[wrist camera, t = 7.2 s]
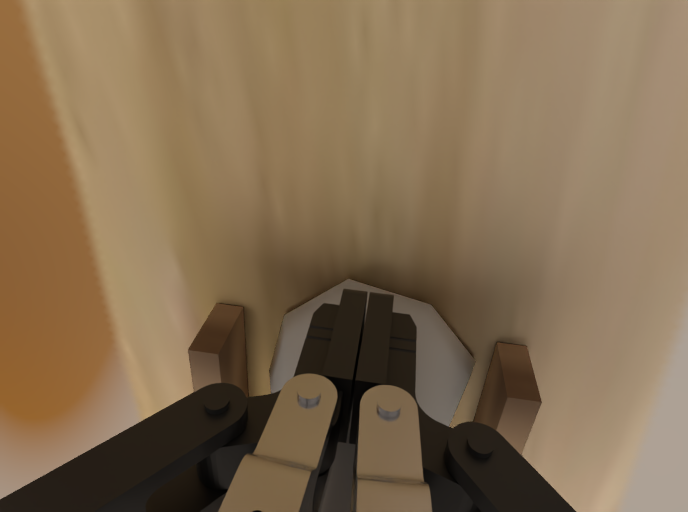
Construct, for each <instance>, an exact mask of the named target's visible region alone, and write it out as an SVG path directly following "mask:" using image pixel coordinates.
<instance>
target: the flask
mask: <svg viewBox="0 0 688 512" xmlns="http://www.w3.org/2000/svg"><path fill="white" fill-rule="evenodd" d="M343 289H352V290H359V291H367V292H368V295H367V305H366V312H367V306H368V300H369V294H370V292H375V293H383V294H390V295H394V301H393V312H396V313H403V314H410V316H411V317H412V319H413V321H414V323H415V325H416V326H417V340H416V387H415V394H416V399H417V402H418V404H419V406H420V407H421V409H422V410H423V411H424V412H425V413H426V414H427V415H428V416H429V417H431V418H432V419H434V420H436V421H438V422H440V423H442V424H444V425H446V426H449V425H450V423H451V420H452V418H453V416H454V413H455V411H456V409H457V406H458V404H459V402H460V399H461V397H462V395H463V392H464V390H465V388H466V385H467V383H468V380H469V378H470V375H471V373H472V370H473V367H474V365H475V362H476V361H475V360H474V358H473V357H472V356H471V355H470V353H469V352H468V351H467V349H466V348H465V347H464V346H463V344H462V343H461V342H460V341H459V339H458V338H457V337H456V335H455V334H454V333H453V332H452V330H451V329H450V328H449V327H448V325H447V324H446V323H445V322H444V320H443V319H442V318H441V316H440V315H439V314H438V313H437V311H436V310H435V309H434V308H433V306H432V305H430V304H427V303H424V302H421V301H418V300H415V299H411V298H408V297H405V296H402V295H399V294H395V293H392V292H389V291H386V290H383V289H379V288H376V287H373V286H370V285H367V284H363V283H360V282H357V281H354V280H351V279H347V280H345V281H344V282H342V283H340V284H338V285H336V286H335V287H333V288H331V289H329V290H328V291H326V292H324V293H322V294H321V295H319V296H317V297H315V298H313V299H312V300H310V301H308V302H306V303H305V304H303V305H301V306H299V307H298V308H296V309H294V310H292V311H290V312H289V313H287V314H285V315H284V318H283V321H282V325H281V329H280V333H279V336H278V340H277V344H276V347H275V351H274V355H273V358H272V362H271V366H270V370H269V373H270V385H271V394H272V393H275V392H277V391H279V390H281V389H282V388H283V386H284V384H285V383H286V382H287V381H288V380H290V379H291V378H293V376H294V373H295V370H296V367H297V364H298V361H299V357H300V354H301V351H302V348H303V345H304V341H305V338H306V335H307V332H308V329H309V326H310V322H311V319H312V316H313V313H314V312H315V311H316V310H317V309H318V308H319V307H320V306H321V305H322V304H323V303H328V304H336V305H340V301H341V296H342V292H343ZM365 318H366V314H365ZM364 324H365V323H364ZM352 408H353V404H352ZM351 418H352V410H351V417H350V423H349V429H348V435H347V441H346V443H342V442H338V445H337V450H336V456H335V460H334V462H333V464H332V471H331V474H330V478H329V482H328V486H327V489H326V493H325V497H324V501H323V504H322V508H321V512H350V502H351V485H352V471H353V462H354V453H355V444H349V437H350V428H351Z"/></svg>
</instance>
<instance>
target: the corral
mask: <svg viewBox="0 0 688 512" xmlns="http://www.w3.org/2000/svg"><path fill="white" fill-rule="evenodd" d="M188 353H189V361H190V368H191V375H192V382H193V389H194V392H195V391H197V390H199V389H201V388H202V387H205V386H207V385H210V384H214V383H229V384H233V385H235V386H237V387H239V388H240V389H241V390H242V391H243V392H244V393H245V395H246V397H249V396H248V379H247V362H246V345H245V328H244V311H243V307H239V306H232V305H225V304H218V303H216V305H215V307H214V308H213V310H212V311H211V313H210V315H209V316H208V318H207V320H206V321H205V323H204V325H203V326H202V328H201V329H200V331H199V333H198V334H197V336H196V338H195V339H194V341H193V343H192V344H191V346H190V347H189V349H188ZM541 403H542V402H541V398H540V394H539V390H538V387H537V383H536V379H535V375H534V372H533V368H532V364H531V360H530V357H529V353H528V349H527V346H521V345H514V344H506V343H499V342H497V344H496V347H495V351H494V354H493V358H492V361H491V364H490V368H489V371H488V374H487V378H486V381H485V384H484V388H483V391H482V394H481V398H480V401H479V405H478V408H477V411H476V415H475V418H474V421H473V422H478V423H482V424H485V425H487V426H490V427H491V428H493V429H495V430H496V431H498V432H499V433H500V434H501V435H502V436H503V437H504V438H505V439H506V440H507V441H508V442H509V443H510V444H511V445H512V446H513V447H514V448H515V449H516V450H517V451H518V453H519V454H520V455H521V453H522V451H523V448H524V446H525V443H526V441H527V438H528V436H529V433H530V431H531V428H532V426H533V423H534V421H535V418H536V415H537V413H538V410H539V408H540V405H541Z"/></svg>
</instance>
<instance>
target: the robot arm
mask: <svg viewBox="0 0 688 512" xmlns="http://www.w3.org/2000/svg"><path fill="white" fill-rule="evenodd" d="M367 295H368V292H367V291H359V290H352V289H343V292H342V296H341V301H340V305H336V304H328V303H323V304H322V305H321V306H320V307H319V308H318V309H317V310H316V311H315V312H314V313H313V316H312V319H311V322H310V326H309V329H308V332H307V335H306V338H305V341H304V345H303V348H302V351H301V354H300V357H299V361H298V364H297V367H296V370H295V373H294V376H293V378H291V379H290V380H288V381H287V382H286V383H285V384H284V386H283V388H282V389H281V390H279V391H277V392H275V393H272V394H268V395H263V396H254V397H246V395H245V393H244V392H243V391H242V390H241V389H240V388H239V387H237V386H235V385H233V384H229V383H214V384H210V385H207V386H205V387H202V388H201V389H199V390H197V391H195V392H193V393H192V394H190V395H188V396H186V397H184V398H183V399H181V400H179V401H177V402H175V403H174V404H172V405H170V406H168V407H166V408H164V409H163V410H161V411H159V412H157V413H155V414H154V415H152V416H150V417H148V418H146V419H145V420H143V421H141V422H139V423H137V424H136V425H134V426H132V427H130V428H129V429H127V430H125V431H123V432H121V433H119V434H118V435H116V436H114V437H112V438H110V439H109V440H107V441H105V442H103V443H101V444H100V445H98V446H96V447H94V448H92V449H91V450H89V451H87V452H85V453H83V454H82V455H80V456H78V457H76V458H74V459H73V460H71V461H69V462H67V463H65V464H63V465H62V466H60V467H58V468H56V469H54V470H53V471H51V472H49V473H47V474H46V475H44V476H42V477H40V478H38V479H37V480H35V481H33V482H31V483H29V484H27V485H26V486H24V487H22V488H20V489H19V490H17V491H15V492H13V493H11V494H9V495H8V496H6V497H4V498H2V499H0V512H321V508H322V504H323V501H324V497H325V493H326V489H327V486H328V482H329V478H330V474H331V471H332V464H333V462H334V460H335V456H336V450H337V445H338V442H342V443H346V441H347V435H348V429H349V423H350V417H351V410H352V418H351V428H350V437H349V444H355V453H354V462H353V471H352V485H351V502H350V512H576V511H575V510H574V509H573V508H572V507H571V506H570V505H569V504H568V503H567V502H566V501H565V500H564V499H563V498H562V497H561V496H560V495H559V494H558V493H557V492H556V491H555V489H554V488H553V487H552V486H551V485H550V484H549V483H548V482H547V481H546V480H545V479H544V478H543V477H542V476H541V475H540V474H539V473H538V472H537V471H536V470H535V469H534V468H533V467H532V466H531V465H530V464H529V463H528V462H527V461H526V460H525V459H524V458H523V457H522V456H521V455H520V454H519V453H518V451H517V450H516V449H515V448H514V447H513V446H512V445H511V444H510V443H509V442H508V441H507V440H506V439H505V438H504V437H503V436H502V435H501V434H500V433H499V432H498V431H496V430H495V429H493V428H491V427H490V426H487V425H485V424H482V423H478V422H465V423H461V424H459V425H457V426H455V427H454V428H451V427H449V426H446V425H444V424H442V423H440V422H438V421H436V420H434V419H432V418H431V417H429V416H428V415H427V414H426V413H425V412H424V411H423V410H422V409H421V407H420V406H419V404H418V402H417V399H416V394H415V387H416V340H417V326H416V325H415V323H414V321H413V319H412V317H411V316H410V314H403V313H396V312H393V301H394V295H390V294H383V293H375V292H370V294H369V300H368V306H367V312H366V305H367ZM365 314H366V318H365ZM364 323H365V324H364ZM352 404H353V408H352Z"/></svg>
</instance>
